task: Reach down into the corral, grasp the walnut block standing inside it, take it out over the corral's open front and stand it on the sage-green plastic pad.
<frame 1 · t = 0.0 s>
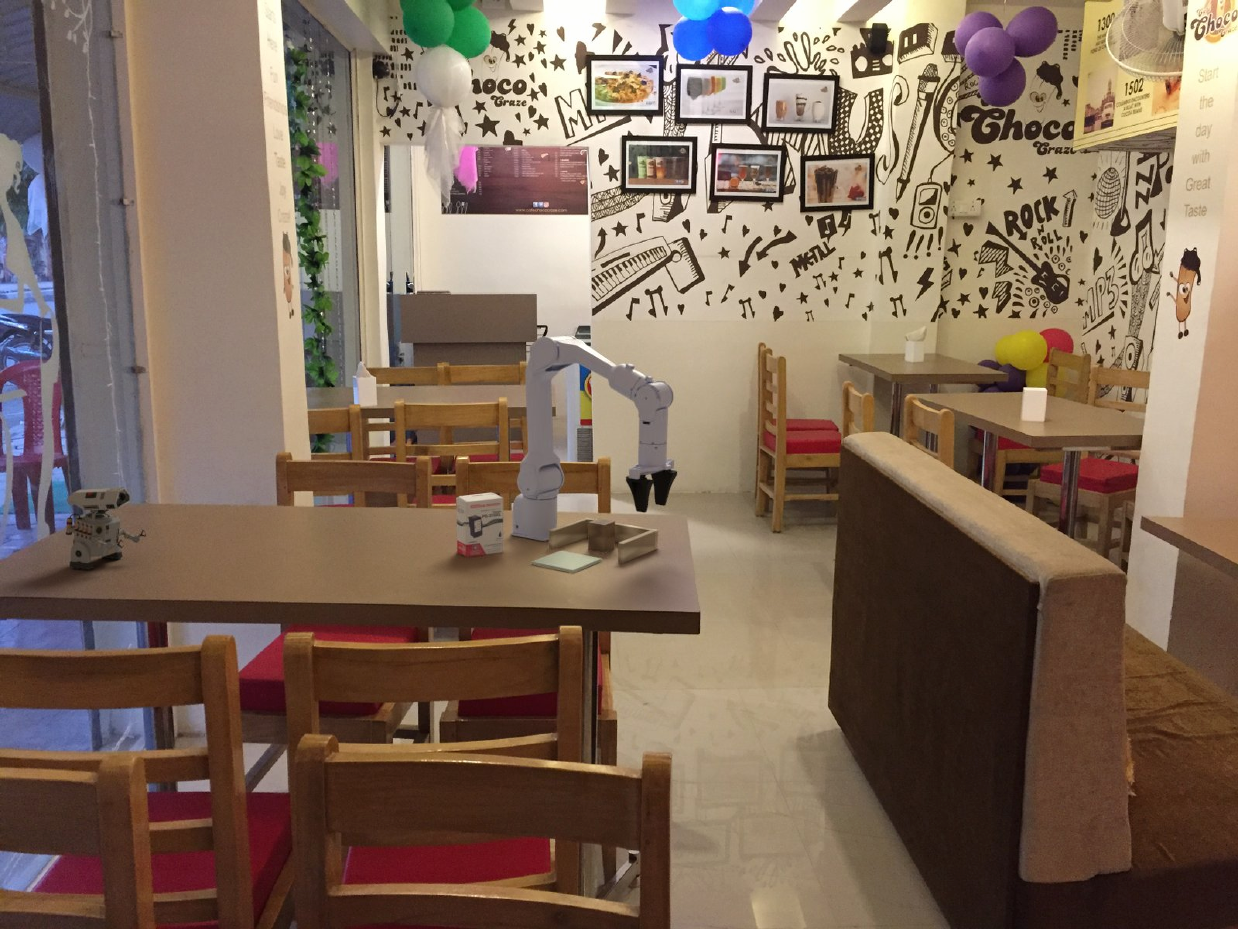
hand: (651, 508, 204), 10 cm above the table, fingers open, 7 cm apart
pad: (566, 562, 200), on the table
walnut block: (601, 549, 210), on the table
corral: (602, 548, 211), on the table
figurine: (106, 565, 193), on the table
ink box: (480, 553, 206), on the table
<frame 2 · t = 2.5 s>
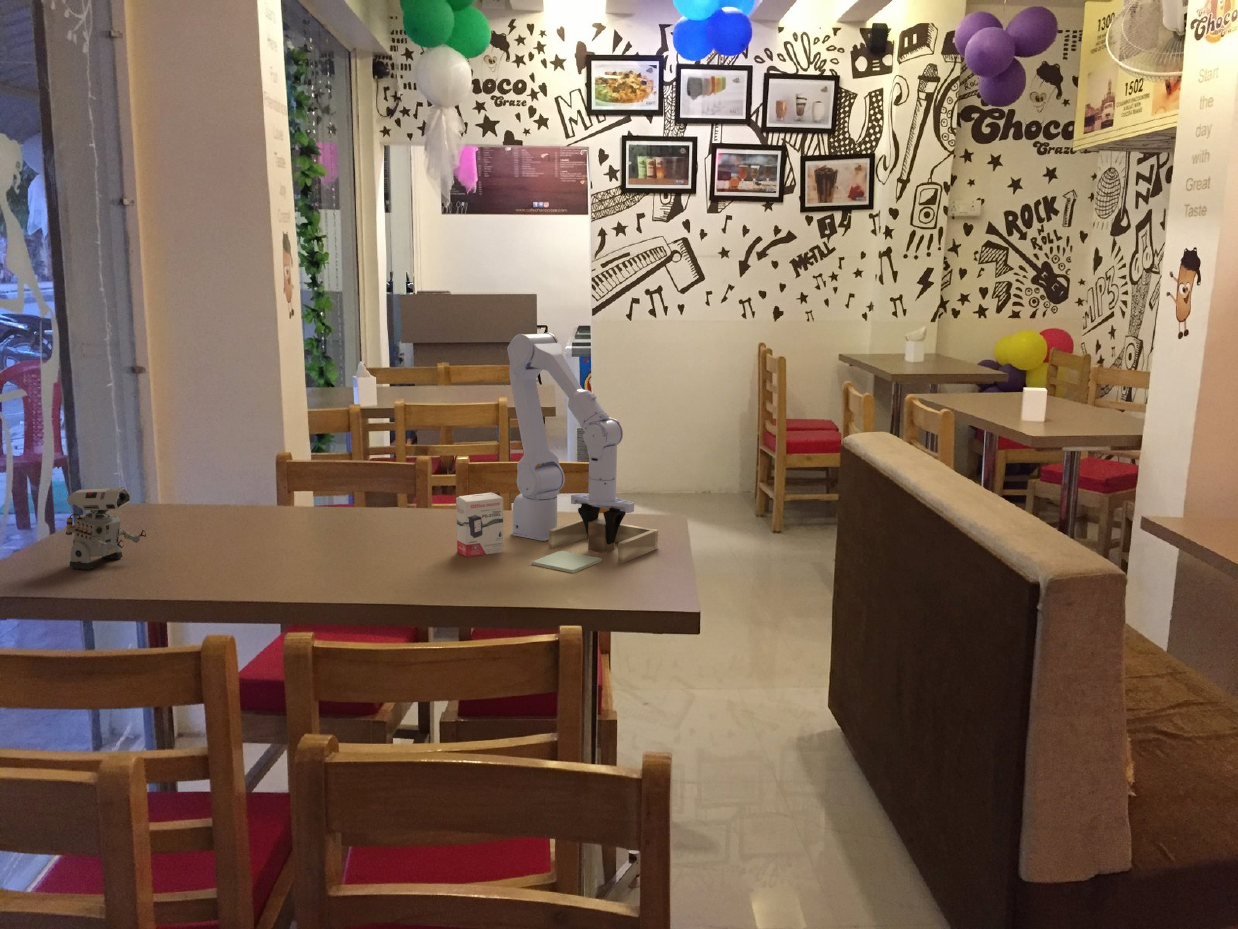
hand: (601, 541, 210), 2 cm above the table, fingers closed on walnut block, 4 cm apart
walnut block: (601, 549, 210), on the table, touching gripper
everything else where it was.
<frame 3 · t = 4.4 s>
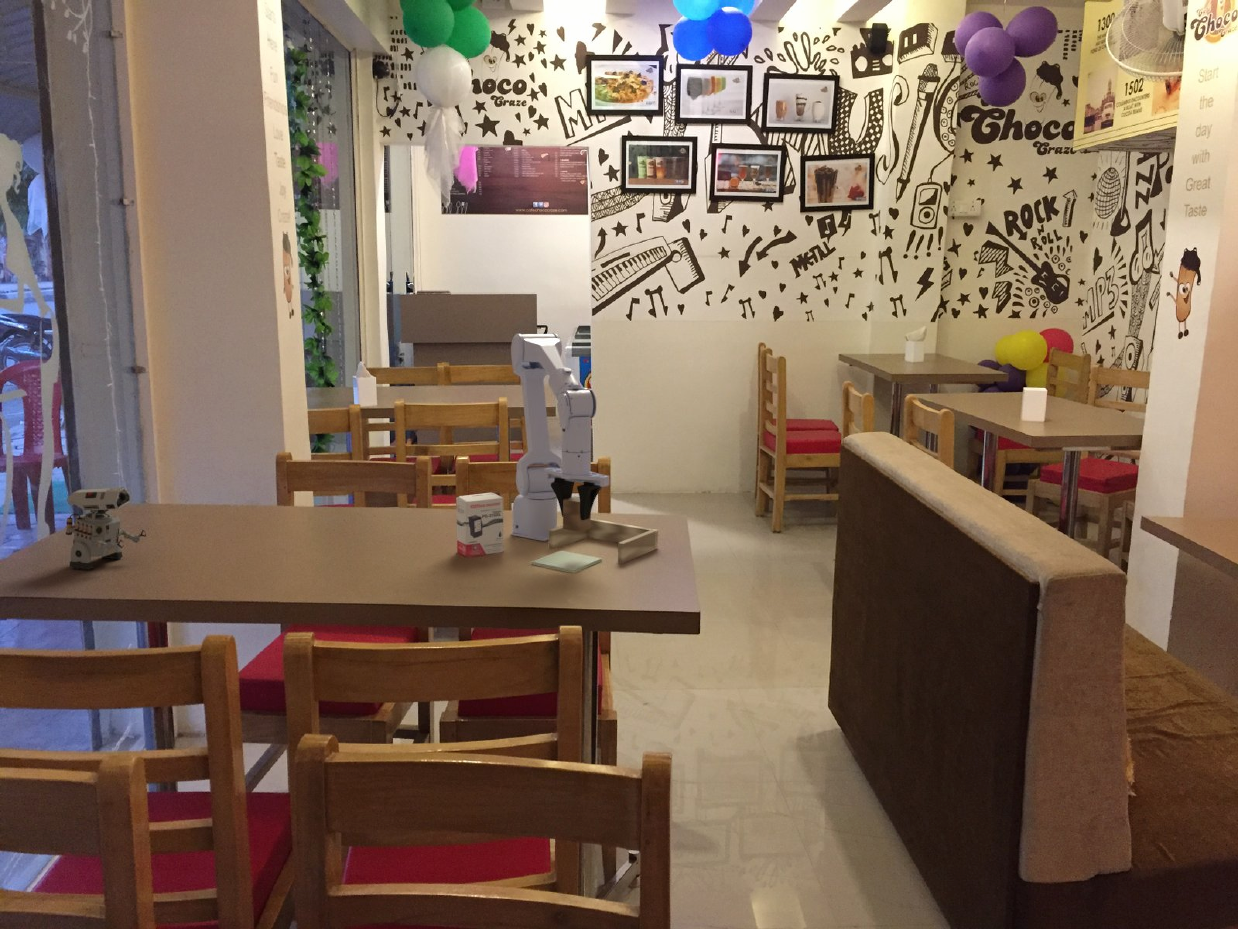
hand: (575, 517, 200), 9 cm above the table, fingers closed on walnut block, 4 cm apart
walnut block: (576, 528, 201), point 6 cm above the table, touching gripper
everything else where it was.
when the fingers open (3 cm above the table, at t = 6.6 s): walnut block stays where it is, resting on pad.
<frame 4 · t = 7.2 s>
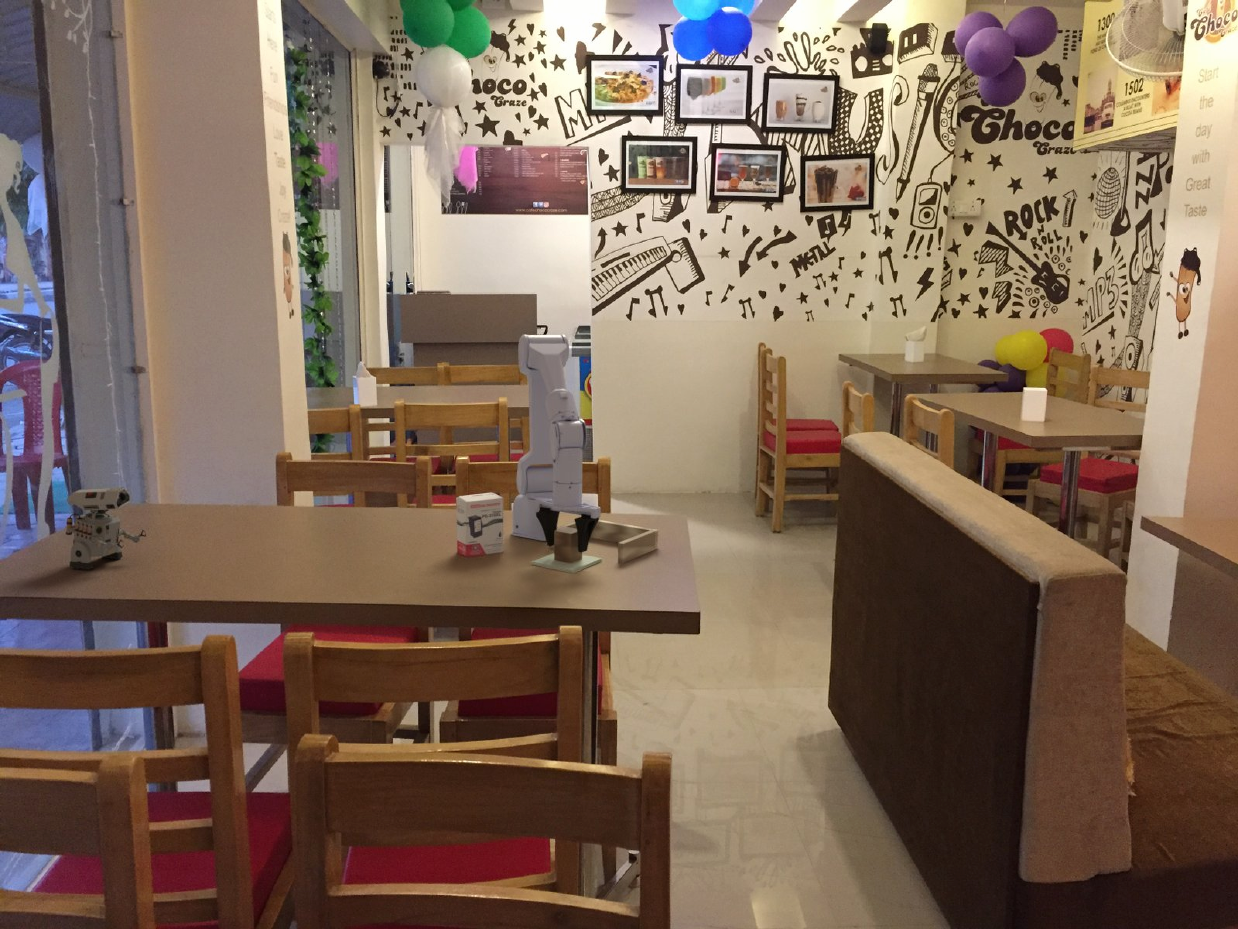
hand: (567, 548, 199), 3 cm above the table, fingers open, 7 cm apart
walnut block: (568, 559, 200), point 1 cm above the table, touching pad
everything else where it was.
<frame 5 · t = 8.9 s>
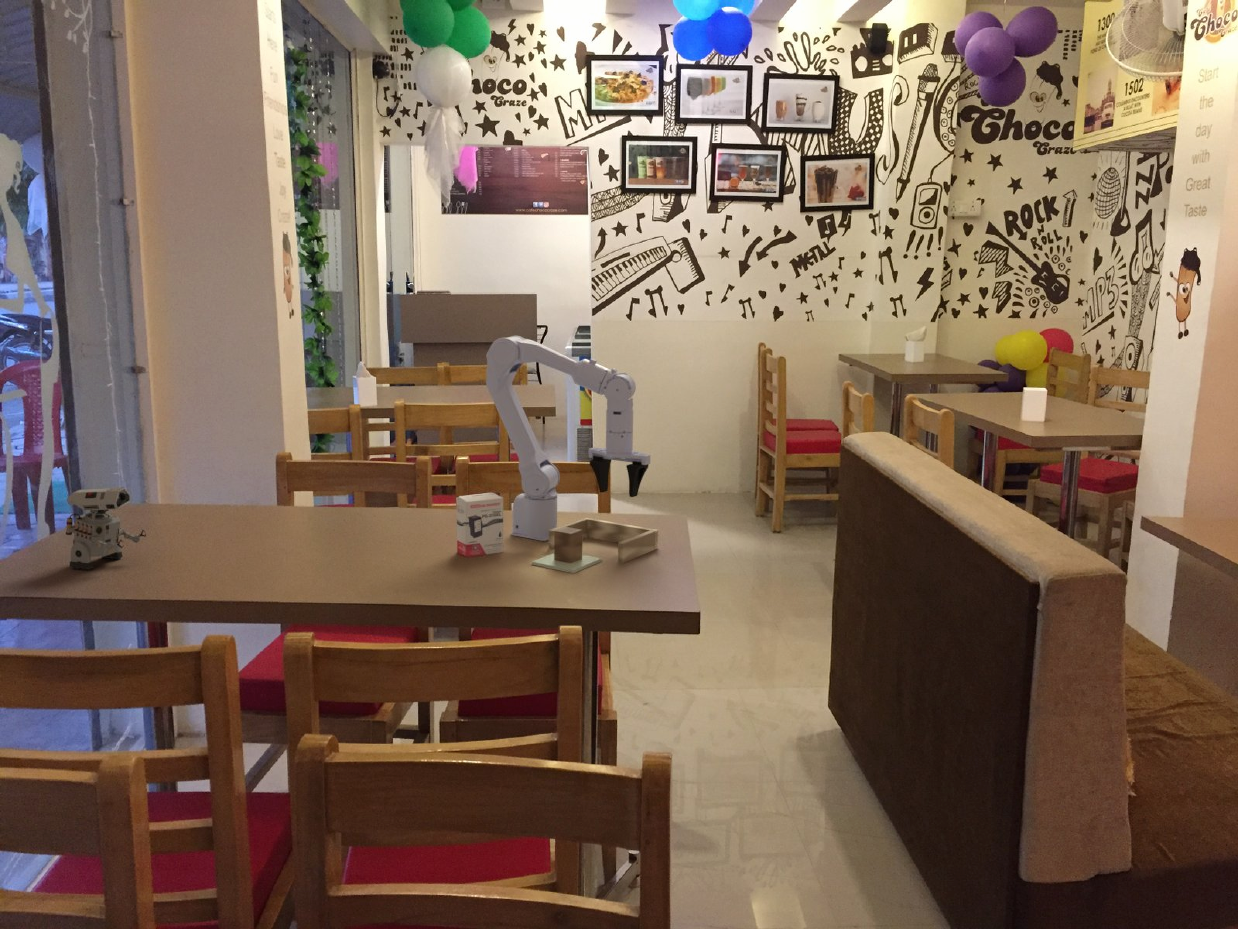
hand: (618, 493, 215), 10 cm above the table, fingers open, 7 cm apart
nothing on the table moved.
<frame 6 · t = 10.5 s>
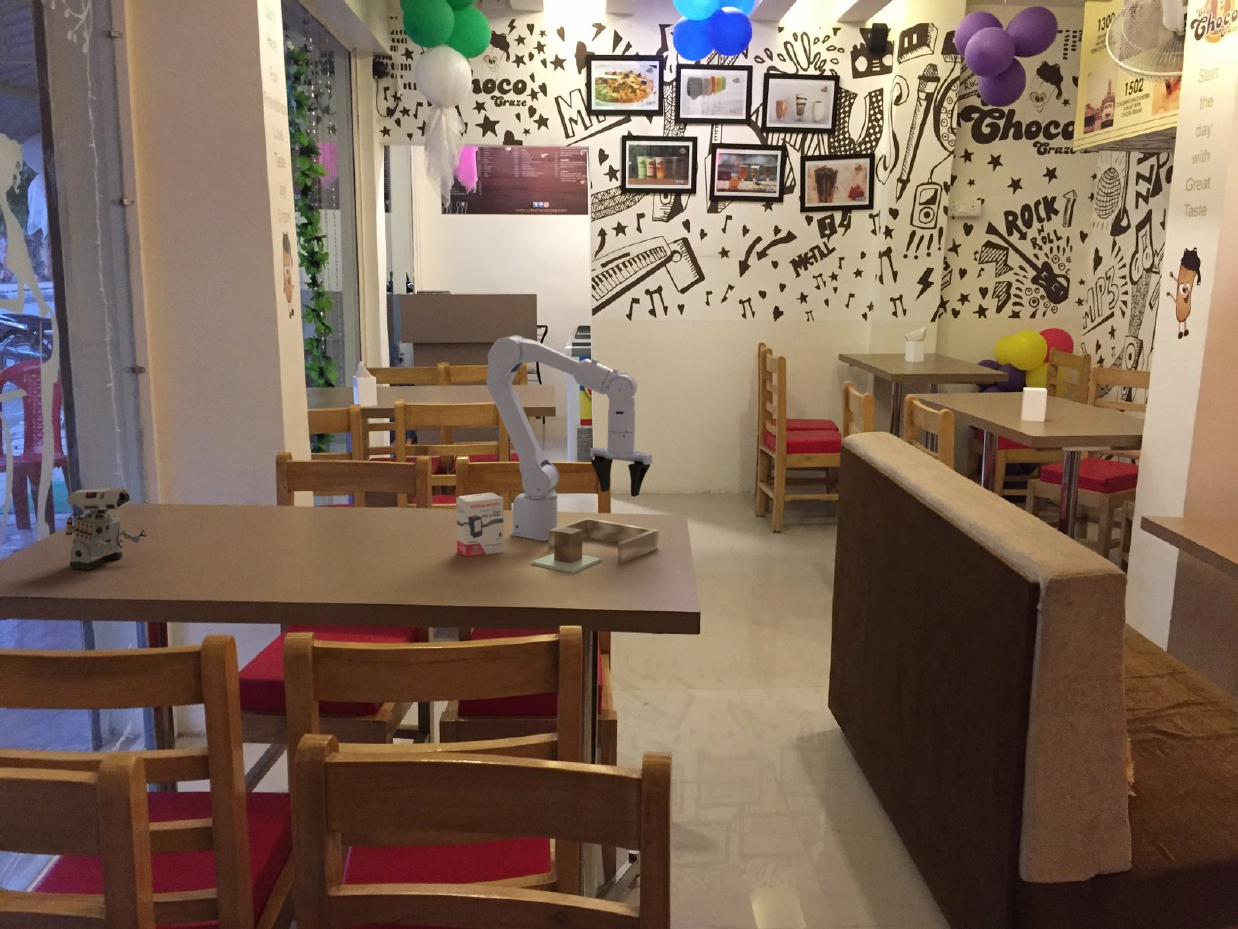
hand: (619, 493, 216), 10 cm above the table, fingers open, 7 cm apart
nothing on the table moved.
at the end: walnut block 0.4 cm from the pad (horizontally); walnut block tilted 0°; the gripper is holding nothing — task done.
